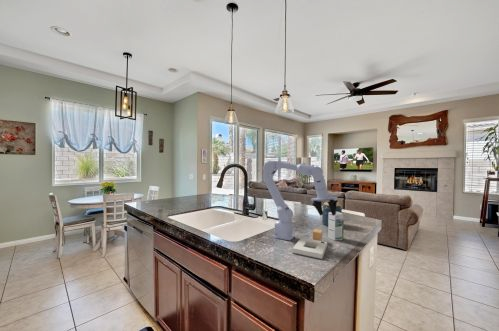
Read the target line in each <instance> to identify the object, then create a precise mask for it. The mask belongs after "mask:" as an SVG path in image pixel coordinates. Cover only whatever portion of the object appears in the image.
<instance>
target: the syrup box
mask: <svg viewBox="0 0 499 331" xmlns="http://www.w3.org/2000/svg"><path fill="white" fill-rule="evenodd" d="M344 219H345V217H344V213H343V212H342V213H340V212H336V214H335V215H332V213H331V212H329V213H328V226H327V227H328V228H327V229H328V230H327V231H328V234H327V235H328V238H329V239H331V240H332V241H344V232H345V230H344V229H345V228H344V225H345V224H344V221H345V220H344Z"/></svg>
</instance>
